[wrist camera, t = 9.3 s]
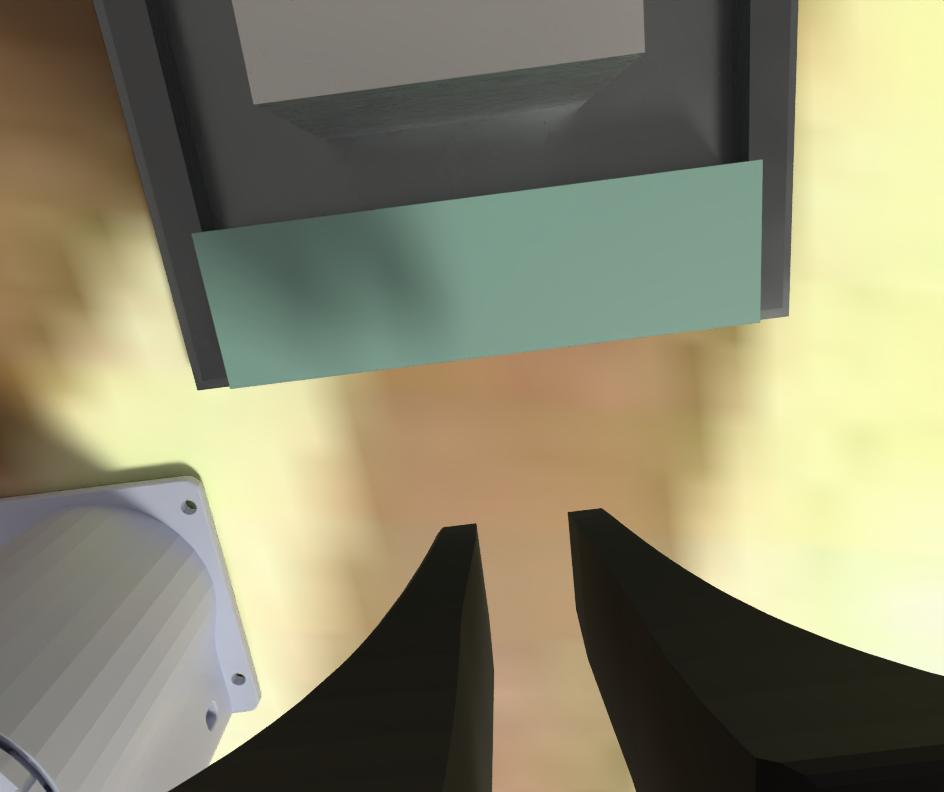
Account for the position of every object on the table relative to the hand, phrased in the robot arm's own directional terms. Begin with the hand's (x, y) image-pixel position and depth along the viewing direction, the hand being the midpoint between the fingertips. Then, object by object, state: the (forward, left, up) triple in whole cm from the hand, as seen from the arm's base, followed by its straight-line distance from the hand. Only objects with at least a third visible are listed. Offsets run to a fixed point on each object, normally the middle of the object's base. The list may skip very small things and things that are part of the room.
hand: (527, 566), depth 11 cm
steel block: (+11, 0, -8) cm, 13 cm away
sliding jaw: (+5, 0, -8) cm, 9 cm away
